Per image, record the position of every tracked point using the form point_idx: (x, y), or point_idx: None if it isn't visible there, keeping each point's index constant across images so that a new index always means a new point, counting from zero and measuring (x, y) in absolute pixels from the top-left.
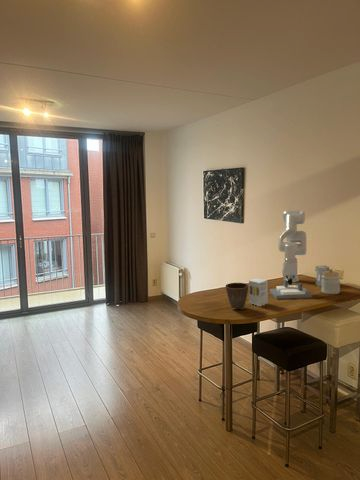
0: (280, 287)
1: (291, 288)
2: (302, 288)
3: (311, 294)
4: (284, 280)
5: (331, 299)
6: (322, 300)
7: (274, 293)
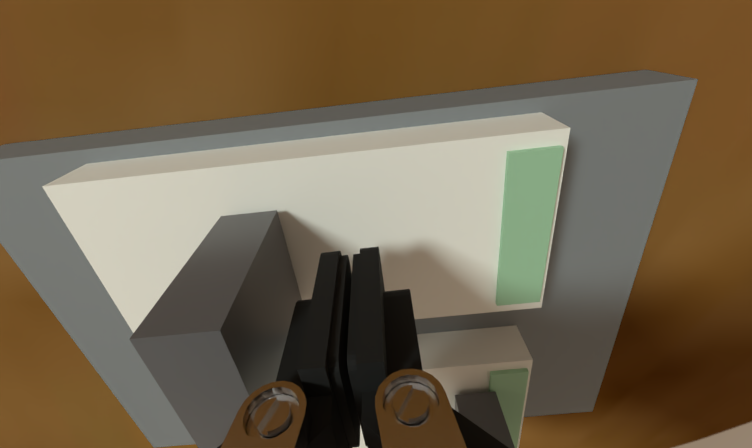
0: (160, 284)
1: None
2: (620, 174)
3: (578, 406)
4: (174, 396)
5: (710, 421)
6: (609, 439)
7: (115, 391)
